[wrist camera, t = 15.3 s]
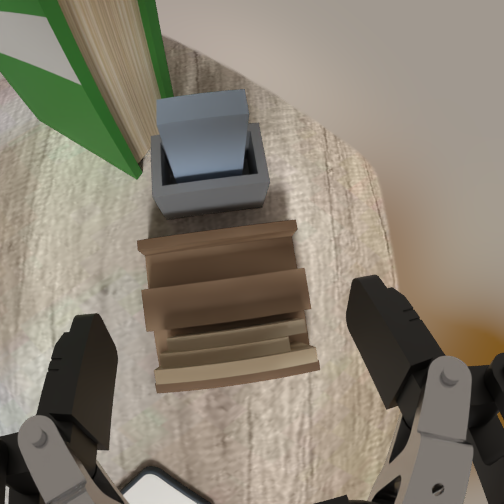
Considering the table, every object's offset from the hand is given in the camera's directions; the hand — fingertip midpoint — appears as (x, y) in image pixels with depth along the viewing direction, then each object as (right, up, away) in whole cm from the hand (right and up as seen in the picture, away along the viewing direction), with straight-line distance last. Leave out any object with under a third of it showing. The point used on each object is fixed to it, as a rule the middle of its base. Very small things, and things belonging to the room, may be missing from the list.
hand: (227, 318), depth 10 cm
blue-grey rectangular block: (-3, +8, +20) cm, 22 cm away
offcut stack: (-1, -6, +17) cm, 18 cm away
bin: (-3, +8, +21) cm, 23 cm away
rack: (-1, -3, +19) cm, 19 cm away
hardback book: (-16, +17, +22) cm, 32 cm away
